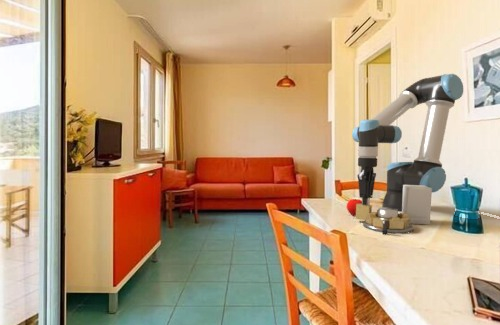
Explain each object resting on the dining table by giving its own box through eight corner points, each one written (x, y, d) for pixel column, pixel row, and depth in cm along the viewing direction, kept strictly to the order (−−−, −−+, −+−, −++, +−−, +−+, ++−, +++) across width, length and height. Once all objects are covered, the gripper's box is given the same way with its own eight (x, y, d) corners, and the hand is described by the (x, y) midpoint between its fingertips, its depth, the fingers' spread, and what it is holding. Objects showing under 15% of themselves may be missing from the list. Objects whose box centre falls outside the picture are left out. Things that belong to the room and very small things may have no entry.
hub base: (374, 219, 141) (374, 202, 140) (419, 227, 128) (420, 209, 128) (352, 227, 126) (352, 209, 125) (400, 238, 113) (401, 218, 113)
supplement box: (430, 225, 131) (432, 188, 130) (406, 223, 133) (408, 187, 132) (423, 219, 140) (425, 185, 139) (401, 218, 142) (402, 184, 141)
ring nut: (414, 223, 128) (415, 208, 128) (400, 231, 117) (401, 214, 117) (365, 215, 142) (365, 201, 141) (348, 221, 131) (349, 206, 131)
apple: (357, 212, 152) (358, 197, 152) (368, 216, 145) (369, 200, 144) (342, 213, 150) (343, 197, 149) (353, 217, 142) (354, 201, 142)
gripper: (366, 156, 143) (363, 209, 145) (351, 157, 134) (349, 214, 136) (383, 157, 138) (380, 212, 140) (369, 158, 129) (367, 217, 130)
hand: (365, 213), depth 138 cm, fingers closed
